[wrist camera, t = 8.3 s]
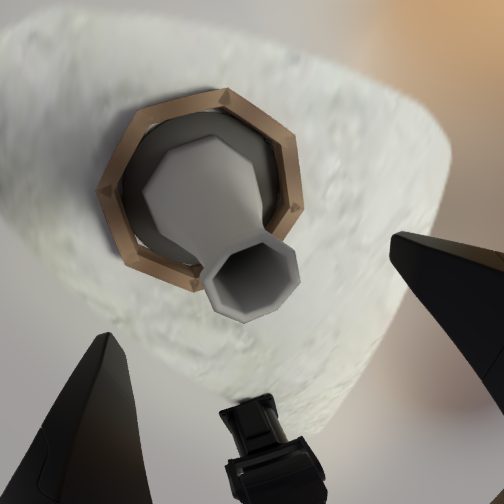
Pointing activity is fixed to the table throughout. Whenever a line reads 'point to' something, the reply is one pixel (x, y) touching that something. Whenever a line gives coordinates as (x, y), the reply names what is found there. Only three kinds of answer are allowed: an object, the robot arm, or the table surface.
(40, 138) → the table surface
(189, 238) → the flask
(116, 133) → the table surface
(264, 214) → the brown octagonal tray
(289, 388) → the table surface
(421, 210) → the table surface
